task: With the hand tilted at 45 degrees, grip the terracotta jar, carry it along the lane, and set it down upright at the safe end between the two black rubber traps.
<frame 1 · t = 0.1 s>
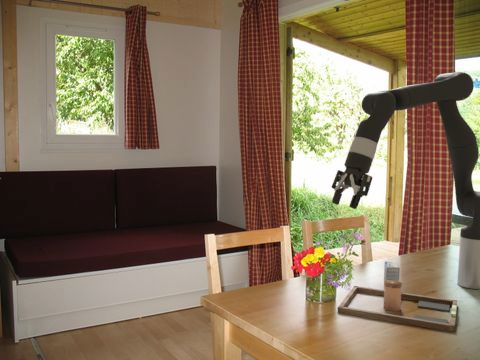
hand: (343, 206, 152), 31 cm above the table, tool tilted 20°, fingers open, 8 cm apart
traps: (432, 313, 152), resting in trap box
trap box: (398, 308, 156), on the table
medicine box: (391, 289, 175), on the table
terracotta jar: (392, 307, 157), resting in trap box
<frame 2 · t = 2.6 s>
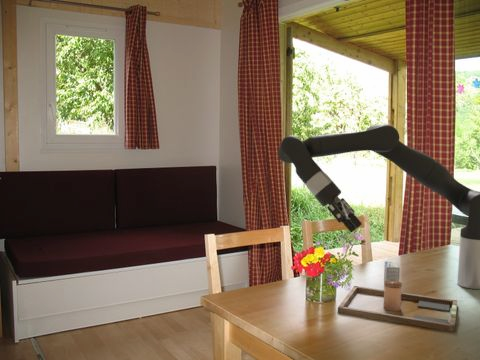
hand: (356, 228, 159), 24 cm above the table, tool tilted 45°, fingers open, 8 cm apart
nothing on the table moved.
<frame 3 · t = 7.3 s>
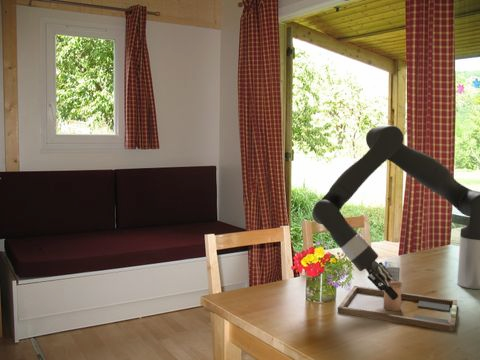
hand: (397, 295, 156), 4 cm above the table, tool tilted 45°, fingers closed on terracotta jar, 5 cm apart
terracotta jar: (392, 307, 157), resting in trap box, touching gripper
everything else where it was.
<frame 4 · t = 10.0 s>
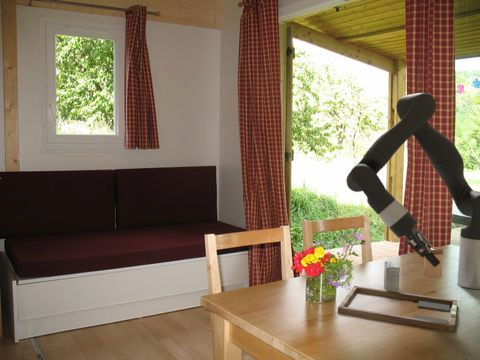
hand: (438, 262, 150), 16 cm above the table, tool tilted 45°, fingers closed on terracotta jar, 5 cm apart
terracotta jar: (432, 275, 151), point 12 cm above the table, touching gripper
everything else where it was.
when the fingers open (6 cm above the table, at t = 13.1 s): terracotta jar drops 1 cm, resting in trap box.
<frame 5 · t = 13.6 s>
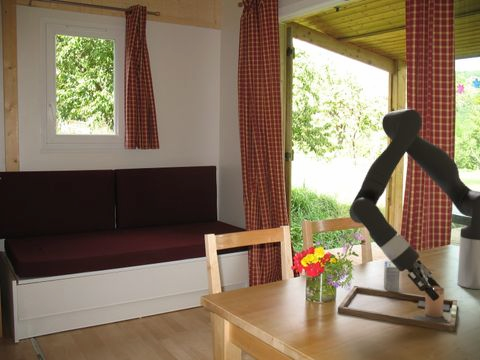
hand: (438, 294, 151), 6 cm above the table, tool tilted 45°, fingers open, 8 cm apart
terracotta jar: (433, 314, 152), resting in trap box
everything else where it was.
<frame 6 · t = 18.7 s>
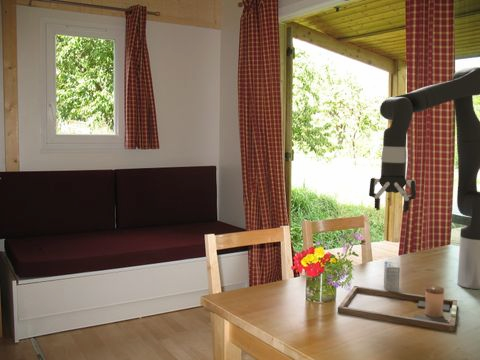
hand: (391, 211, 165), 28 cm above the table, tool pointing down, fingers open, 8 cm apart
nothing on the table moved.
at the end: terracotta jar 0.2 cm from the target spot, resting in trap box; terracotta jar touching table; terracotta jar tilted 0° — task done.
